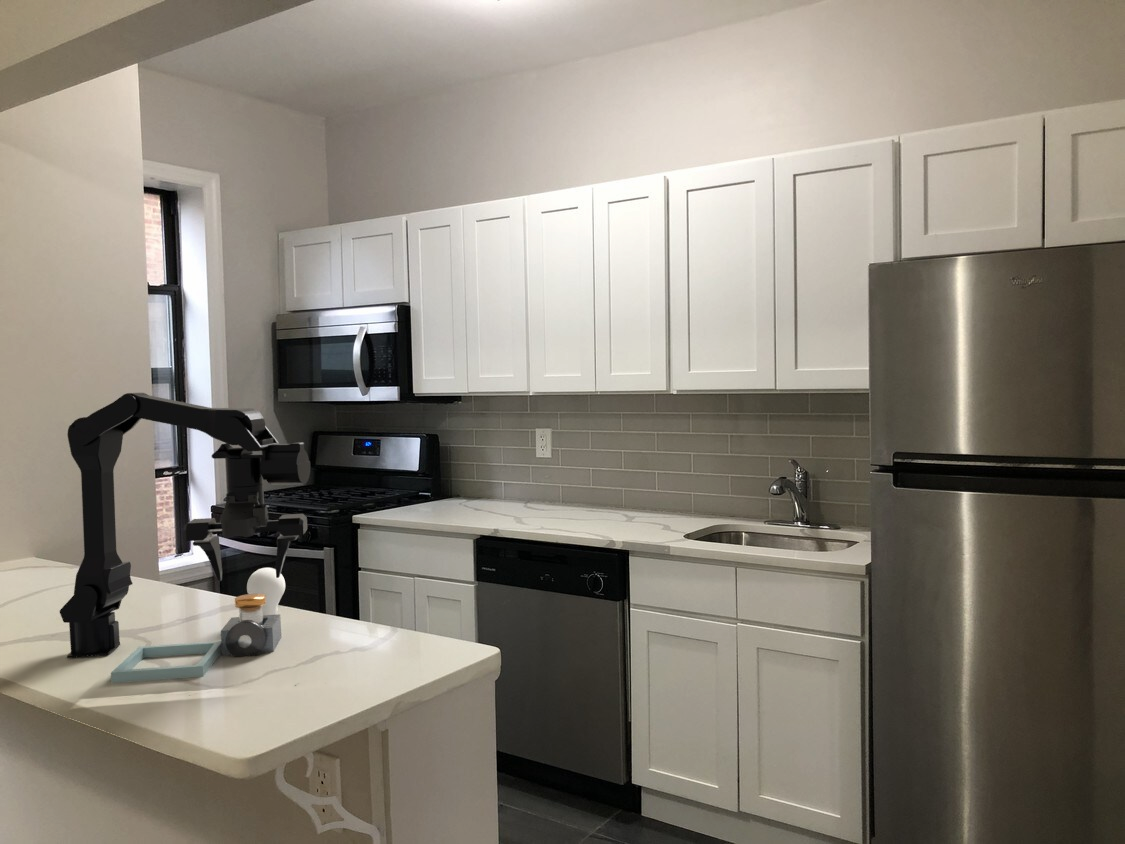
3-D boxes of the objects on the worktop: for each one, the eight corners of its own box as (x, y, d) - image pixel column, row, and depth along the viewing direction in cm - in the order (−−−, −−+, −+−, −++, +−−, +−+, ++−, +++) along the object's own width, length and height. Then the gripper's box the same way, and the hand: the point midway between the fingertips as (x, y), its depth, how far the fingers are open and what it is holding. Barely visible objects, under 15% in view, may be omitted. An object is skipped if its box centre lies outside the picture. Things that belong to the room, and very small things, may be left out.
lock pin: (234, 651, 148) (231, 601, 147) (240, 642, 152) (238, 594, 152) (265, 649, 148) (262, 599, 148) (270, 640, 153) (267, 592, 153)
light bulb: (275, 633, 161) (272, 572, 160) (241, 632, 162) (238, 571, 162) (294, 623, 167) (291, 564, 167) (261, 622, 169) (258, 563, 168)
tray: (111, 689, 134) (110, 672, 134) (139, 661, 147) (138, 646, 147) (203, 682, 136) (202, 666, 136) (223, 655, 149) (222, 640, 149)
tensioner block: (219, 665, 144) (217, 625, 144) (232, 646, 154) (231, 608, 153) (271, 661, 145) (269, 621, 145) (281, 643, 155) (279, 605, 155)
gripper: (171, 494, 140) (176, 594, 140) (296, 488, 142) (300, 586, 143) (190, 485, 151) (194, 578, 151) (305, 480, 153) (309, 571, 154)
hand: (249, 578), depth 150 cm, fingers open, 9 cm apart
